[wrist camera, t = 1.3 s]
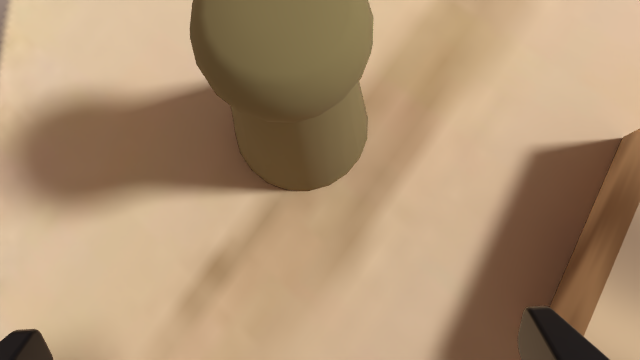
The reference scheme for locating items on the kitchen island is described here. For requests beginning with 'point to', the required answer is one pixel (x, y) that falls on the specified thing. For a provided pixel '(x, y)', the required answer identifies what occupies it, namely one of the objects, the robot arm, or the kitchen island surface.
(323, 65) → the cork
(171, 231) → the kitchen island surface
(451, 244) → the kitchen island surface
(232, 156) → the kitchen island surface
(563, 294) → the cream square block
